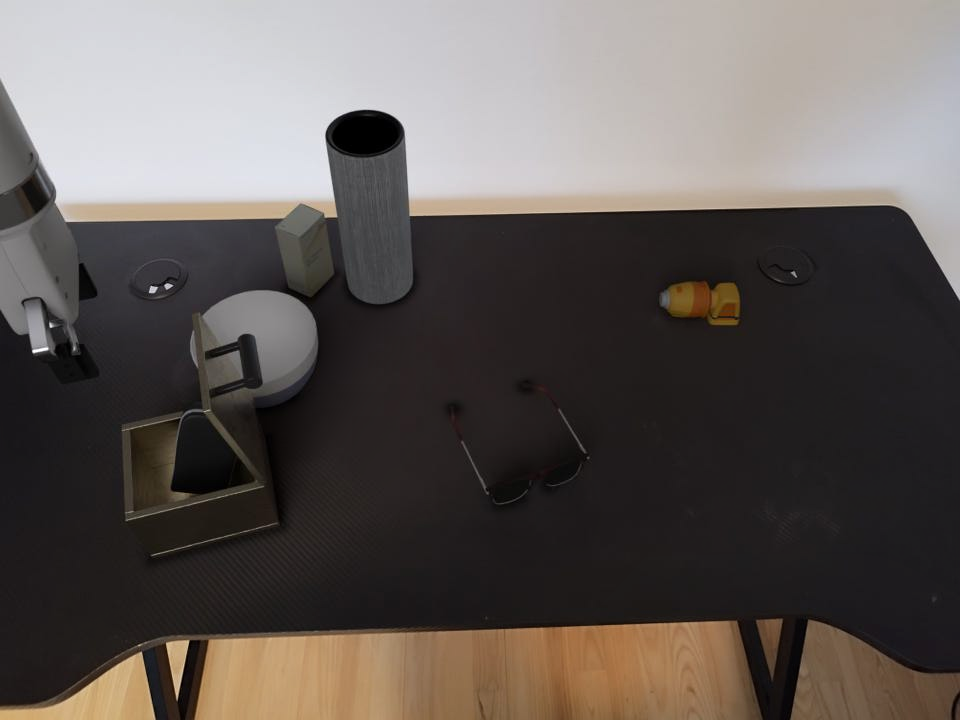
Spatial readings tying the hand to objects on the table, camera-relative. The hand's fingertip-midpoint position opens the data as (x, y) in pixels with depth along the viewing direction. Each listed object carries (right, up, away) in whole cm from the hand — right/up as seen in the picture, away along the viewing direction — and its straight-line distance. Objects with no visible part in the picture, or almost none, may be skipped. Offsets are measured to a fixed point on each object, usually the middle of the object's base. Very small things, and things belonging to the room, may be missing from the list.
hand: (81, 336), depth 72 cm
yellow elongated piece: (+69, +5, +47) cm, 83 cm away
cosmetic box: (+10, +10, +49) cm, 51 cm away
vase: (+21, +10, +49) cm, 55 cm away
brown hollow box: (+3, -19, +26) cm, 33 cm away
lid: (+9, -7, +13) cm, 17 cm away
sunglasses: (+40, -13, +32) cm, 53 cm away
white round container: (+7, -5, +38) cm, 38 cm away
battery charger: (+2, -18, +25) cm, 30 cm away
